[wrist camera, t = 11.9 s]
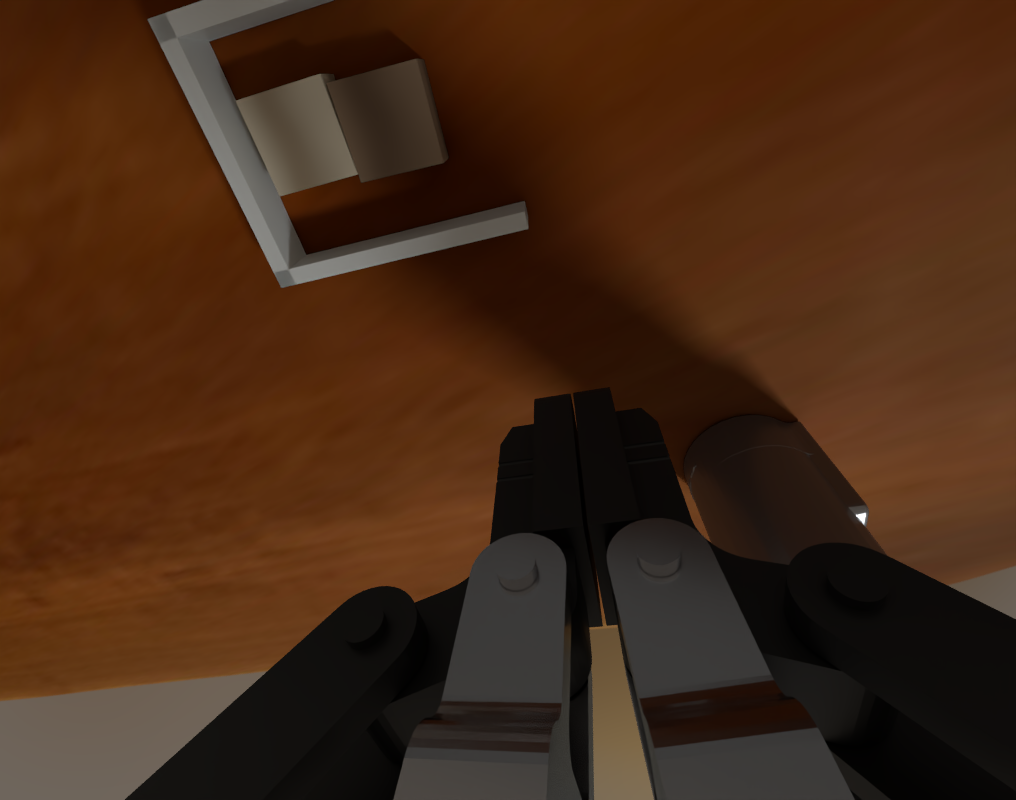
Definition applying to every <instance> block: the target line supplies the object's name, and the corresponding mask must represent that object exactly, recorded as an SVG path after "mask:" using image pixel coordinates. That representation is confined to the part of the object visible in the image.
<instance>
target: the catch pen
mask: <svg viewBox="0 0 1016 800" xmlns="http://www.w3.org/2000/svg"><path fill="white" fill-rule="evenodd" d="M331 1H334V0H202V1H199V2H196V3H193V4H190V5H187V6H184V7H181V8H178V9H175V10H172V11H170V12H167V13H164V14H161V15H158V16H155V17H152V18H149V19H148V21H149V23H150V25H151V27H152V29H153V31H154V33H155V35H156V37H157V39H158V41H159V43H160V45H161V47H162V50H163V52H164V54H165V56H166V58H167V60H168V62H169V64H170V66H171V68H172V70H173V72H174V74H175V76H176V78H177V80H178V82H179V84H180V86H181V88H182V90H183V92H184V94H185V96H186V98H187V100H188V102H189V104H190V106H191V108H192V110H193V112H194V114H195V116H196V118H197V120H198V122H199V124H200V126H201V128H202V130H203V132H204V134H205V136H206V138H207V140H208V142H209V144H210V146H211V148H212V150H213V152H214V154H215V156H216V158H217V160H218V162H219V164H220V166H221V168H222V170H223V172H224V174H225V176H226V178H227V180H228V182H229V184H230V186H231V188H232V190H233V192H234V194H235V196H236V198H237V200H238V202H239V204H240V206H241V208H242V210H243V212H244V214H245V216H246V218H247V220H248V222H249V224H250V226H251V228H252V230H253V232H254V234H255V236H256V238H257V240H258V242H259V244H260V246H261V248H262V250H263V252H264V254H265V256H266V258H267V260H268V262H269V264H270V266H271V268H272V270H273V272H274V274H275V276H276V278H277V280H278V282H279V284H280V286H281V288H283V287H287V286H291V285H296V284H300V283H304V282H308V281H312V280H316V279H321V278H325V277H329V276H333V275H337V274H342V273H346V272H350V271H354V270H358V269H363V268H367V267H371V266H375V265H379V264H384V263H388V262H392V261H396V260H400V259H404V258H409V257H413V256H417V255H421V254H425V253H430V252H434V251H438V250H442V249H446V248H451V247H455V246H459V245H463V244H467V243H472V242H476V241H480V240H484V239H488V238H492V237H497V236H501V235H505V234H509V233H513V232H518V231H522V230H526V229H528V214H527V209H526V205H525V201H522V202H518V203H514V204H510V205H506V206H502V207H498V208H494V209H490V210H486V211H482V212H478V213H474V214H470V215H466V216H462V217H458V218H454V219H450V220H446V221H442V222H438V223H434V224H430V225H425V226H421V227H417V228H413V229H409V230H405V231H401V232H397V233H393V234H389V235H385V236H381V237H377V238H373V239H369V240H365V241H361V242H357V243H353V244H349V245H345V246H341V247H337V248H333V249H329V250H324V251H320V252H316V253H312V254H308V255H306V253H305V251H304V249H303V247H302V244H301V242H300V240H299V238H298V236H297V234H296V231H295V229H294V227H293V225H292V223H291V220H290V218H289V216H288V214H287V212H286V209H285V207H284V205H283V203H282V201H281V198H280V196H279V194H278V192H277V190H276V187H275V185H274V183H273V181H272V179H271V176H270V174H269V172H268V170H267V168H266V166H265V163H264V161H263V159H262V157H261V155H260V153H259V151H258V148H257V146H256V144H255V142H254V140H253V138H252V135H251V133H250V131H249V129H248V127H247V125H246V123H245V120H244V118H243V116H242V114H241V112H240V110H239V107H238V105H237V103H236V99H235V97H234V95H233V93H232V91H231V88H230V86H229V84H228V82H227V80H226V78H225V75H224V73H223V71H222V69H221V67H220V64H219V62H218V60H217V58H216V56H215V53H214V51H213V49H212V47H211V45H210V42H209V41H212V40H215V39H218V38H221V37H224V36H227V35H230V34H234V33H237V32H240V31H243V30H246V29H249V28H252V27H255V26H258V25H261V24H264V23H267V22H270V21H273V20H276V19H279V18H282V17H285V16H288V15H291V14H294V13H297V12H301V11H304V10H307V9H310V8H313V7H316V6H319V5H322V4H325V3H328V2H331Z"/></svg>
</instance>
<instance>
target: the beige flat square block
mask: <svg viewBox="0 0 1016 800" xmlns="http://www.w3.org/2000/svg"><path fill="white" fill-rule="evenodd" d="M327 86H328V89H329V92H330V95H331V98H332V101H333V103H334V106H335V109H336V112H337V115H338V118H339V121H340V123H341V126H342V129H343V132H344V135H345V138H346V141H347V143H348V146H349V149H350V152H351V155H352V158H353V161H354V164H355V166H356V169H357V172H358V175H359V178H360V181H361V183H362V182H367V181H371V180H375V179H379V178H383V177H387V176H392V175H396V174H400V173H404V172H408V171H412V170H417V169H421V168H425V167H429V166H433V165H437V164H442V163H444V162H445V161H446V160H447V159H448V158H449V156H448V152H447V148H446V144H445V140H444V136H443V132H442V128H441V125H440V121H439V117H438V113H437V109H436V105H435V101H434V97H433V93H432V89H431V85H430V81H429V77H428V73H427V70H426V66H425V62H424V60H423V59H413V60H409V61H406V62H402V63H398V64H395V65H391V66H387V67H384V68H380V69H376V70H373V71H369V72H365V73H362V74H358V75H354V76H351V77H347V78H343V79H340V80H336V81H332V82H329V83H327Z"/></svg>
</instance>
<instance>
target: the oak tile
mask: <svg viewBox="0 0 1016 800" xmlns="http://www.w3.org/2000/svg"><path fill="white" fill-rule="evenodd" d="M332 81H336V79H335V77H334V74H317V75H314V76H311V77H308V78H305V79H302V80H299V81H295V82H292V83H289V84H286V85H283V86H280V87H277V88H274V89H271V90H267V91H264V92H261V93H258V94H255V95H252V96H249V97H246V98H242V99H239V100H236V103H237V105H238V107H239V110H240V112H241V114H242V116H243V118H244V120H245V123H246V125H247V127H248V129H249V131H250V133H251V135H252V138H253V140H254V142H255V144H256V146H257V148H258V151H259V153H260V155H261V157H262V159H263V161H264V163H265V166H266V168H267V170H268V172H269V174H270V176H271V179H272V181H273V183H274V185H275V187H276V189H277V191H278V194H279V196H283V195H287V194H290V193H294V192H297V191H301V190H304V189H308V188H311V187H315V186H318V185H322V184H326V183H329V182H333V181H336V180H340V179H343V178H347V177H350V176H354V175H357V174H358V172H357V169H356V166H355V164H354V161H353V158H352V155H351V152H350V149H349V146H348V143H347V141H346V138H345V135H344V132H343V129H342V126H341V123H340V121H339V118H338V115H337V112H336V109H335V106H334V103H333V101H332V98H331V95H330V92H329V89H328V86H327V83H329V82H332Z"/></svg>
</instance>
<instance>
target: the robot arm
mask: <svg viewBox="0 0 1016 800" xmlns="http://www.w3.org/2000/svg"><path fill="white" fill-rule="evenodd" d="M573 395H574V405H575V414H576V421H575V415H574V410H573V404H572V399H571V394H564V395H558V396H551V397H545V398H539V399H535V400H534V424H531V425H524V426H518V427H512V429H511V430H510V432H509V433H508V435H507V436H506V438H505V439H504V440H503V442H502V443H501V446H500V456H499V467H498V475H497V481H498V482H497V484H496V494H495V503H494V512H493V522H492V531H491V541H490V545H489V546H488V547H486V548H485V549H484V550H483V551H482V552H481V553H480V555H479V556H478V557H477V559H476V560H475V562H474V564H473V566H472V569H471V572H470V576H469V577H468V578H467V579H466V580H464V581H463V582H461V583H460V584H458V585H456V586H454V587H452V588H450V589H448V590H445V591H443V592H440V593H438V594H435V595H433V596H430V597H428V598H425V599H423V600H420V601H418V602H415V603H414V601H413V600H412V598H411V597H410V596H409V595H408V594H407V593H406V592H405V591H403V590H401V589H399V588H396V587H390V586H381V587H375V588H371V589H368V590H365V591H362V592H360V593H358V594H356V595H354V596H353V597H351V598H350V599H348V600H347V601H346V602H344V603H343V604H342V605H341V606H340V607H338V608H337V609H336V610H335V611H334V612H333V613H332V614H331V615H330V616H328V617H327V618H326V619H325V620H324V621H323V622H322V623H321V624H320V625H318V626H317V627H316V628H315V629H314V630H313V631H312V632H311V633H310V634H308V635H307V636H306V637H305V638H304V639H303V640H302V641H301V642H300V643H298V644H297V645H296V646H295V647H294V648H293V649H292V650H291V651H290V652H288V653H287V654H286V655H285V656H284V657H283V658H282V659H281V660H280V661H278V662H277V663H276V664H275V665H274V666H273V667H272V668H271V669H269V670H268V671H267V672H266V673H265V674H264V675H263V676H262V677H261V678H260V679H258V680H257V681H256V682H255V683H254V684H253V685H252V686H251V687H249V689H247V690H246V691H245V692H244V693H243V694H242V695H241V696H239V697H238V698H237V699H236V700H235V701H234V702H233V703H232V704H231V705H230V706H229V707H227V708H226V709H225V710H224V711H223V712H222V713H221V714H219V715H218V716H217V717H216V718H215V719H214V720H213V721H212V722H211V723H209V724H208V725H207V726H206V727H205V728H204V729H203V730H202V731H201V732H199V733H198V734H197V735H196V736H195V737H194V738H193V739H192V740H191V741H189V743H187V744H186V745H185V746H184V747H183V748H182V749H181V750H180V751H178V752H177V753H176V754H175V755H174V756H173V757H172V758H171V759H169V760H168V761H167V762H166V763H165V764H164V765H163V766H162V767H161V768H159V769H158V770H157V771H156V772H155V773H154V774H153V775H152V776H151V777H150V778H148V779H147V780H146V781H145V782H144V783H143V784H142V785H141V786H140V787H138V788H137V789H136V790H135V791H134V792H133V793H132V794H131V795H130V796H128V797H127V798H126V799H125V800H594V778H593V777H594V774H593V773H594V772H593V710H592V709H593V708H592V707H593V704H592V673H591V664H592V654H591V643H590V633H589V627H599V626H603V624H602V616H601V607H600V599H599V590H598V582H599V587H600V592H601V597H602V603H603V608H604V613H605V619H606V624H607V626H608V625H618V630H619V636H620V641H621V647H622V654H623V659H624V664H625V670H626V676H627V681H628V685H629V690H630V695H631V699H632V703H633V707H634V712H635V717H636V721H637V726H638V730H639V735H640V739H641V743H642V748H643V752H644V757H645V761H646V766H647V770H648V774H649V779H650V783H651V788H652V792H653V796H654V800H1016V619H1014V618H1012V617H1010V616H1008V615H1006V614H1004V613H1002V612H1000V611H998V610H996V609H994V608H991V607H990V606H988V605H986V604H984V603H982V602H980V601H978V600H976V599H973V598H972V597H969V596H967V595H965V594H963V593H961V592H959V591H957V590H955V589H953V588H951V587H949V586H947V585H945V584H943V583H941V582H939V581H937V580H935V579H933V578H931V577H929V576H927V575H925V574H923V573H921V572H919V571H917V570H915V569H913V568H911V567H909V566H907V565H905V564H903V563H901V562H899V561H897V560H895V559H893V558H891V557H889V556H887V554H886V553H885V552H884V550H883V549H882V548H881V546H880V545H879V544H878V542H877V541H876V540H875V539H874V537H873V536H872V535H871V533H870V532H869V531H868V529H867V528H866V525H867V520H868V515H869V510H868V507H867V505H866V503H865V502H864V501H863V500H862V498H861V497H860V496H859V495H858V493H857V492H856V491H855V490H854V488H853V487H852V486H851V485H850V483H849V482H848V481H847V480H846V478H845V477H844V476H843V475H842V473H841V472H840V471H839V470H838V468H837V467H836V466H835V465H834V463H833V462H832V461H831V460H830V458H829V457H828V456H827V455H826V453H825V452H824V451H823V450H822V448H821V447H820V446H819V445H818V443H817V442H816V441H815V440H814V438H813V437H812V436H811V435H810V433H809V432H808V431H807V430H806V428H805V427H804V426H803V425H802V424H801V422H793V423H785V422H782V421H779V420H777V419H775V418H772V417H767V416H762V415H745V416H739V417H734V418H731V419H728V420H725V421H722V422H720V423H718V424H716V425H714V426H712V427H710V428H709V429H708V430H706V431H705V432H703V433H702V434H701V435H700V436H699V437H698V438H697V439H696V440H695V441H694V442H693V443H692V445H691V447H690V448H689V450H688V451H687V454H686V457H685V460H684V474H685V478H686V481H687V483H688V486H689V489H690V492H691V495H692V497H693V499H694V501H695V503H696V506H697V508H698V511H699V513H700V516H701V518H702V521H703V523H704V526H705V528H706V531H707V533H708V536H709V538H710V541H711V542H709V541H708V540H707V539H705V538H704V537H703V536H702V535H701V533H700V532H699V531H698V530H697V528H696V527H695V525H694V523H693V521H692V519H691V516H690V513H689V511H688V508H687V505H686V502H685V499H684V496H683V493H682V491H681V488H680V485H679V482H678V479H677V476H676V473H675V471H674V468H673V465H672V462H671V459H670V458H669V453H668V451H667V448H666V445H665V444H664V439H663V436H662V433H661V431H660V428H659V425H658V422H657V421H656V420H655V419H653V418H652V417H651V416H650V415H649V414H648V413H646V412H645V411H644V410H643V409H642V408H637V409H630V410H624V411H617V412H615V408H614V404H613V400H612V395H611V391H610V388H609V387H608V388H601V389H595V390H589V391H582V392H576V393H573ZM576 423H577V426H576ZM596 571H597V573H596ZM597 576H598V582H597Z"/></svg>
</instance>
